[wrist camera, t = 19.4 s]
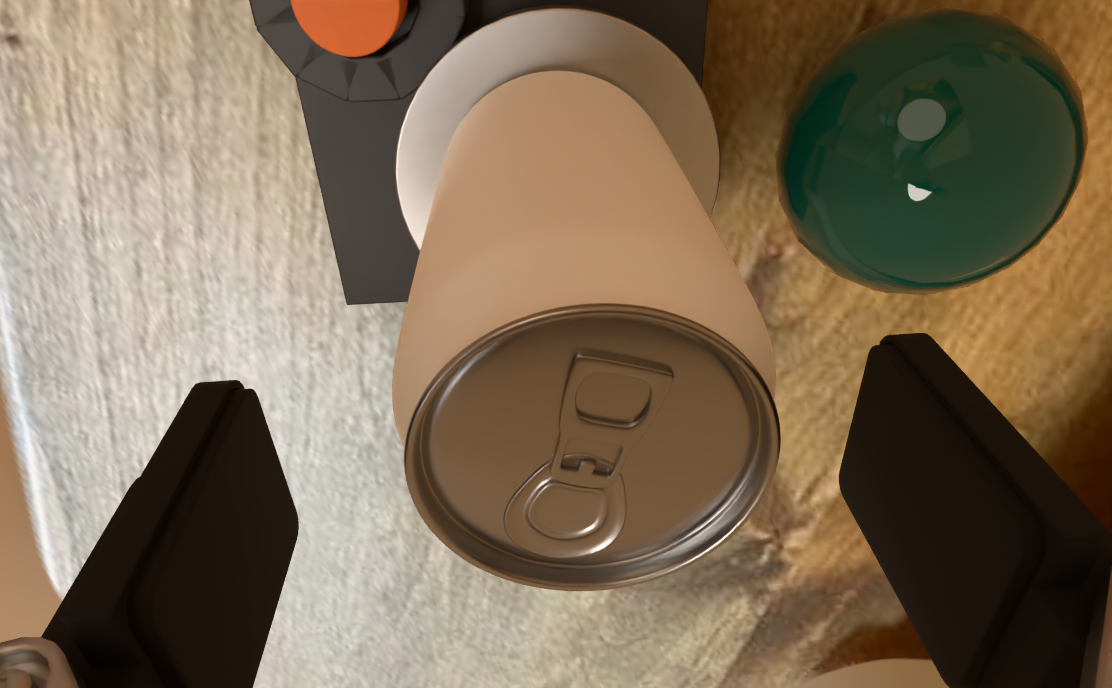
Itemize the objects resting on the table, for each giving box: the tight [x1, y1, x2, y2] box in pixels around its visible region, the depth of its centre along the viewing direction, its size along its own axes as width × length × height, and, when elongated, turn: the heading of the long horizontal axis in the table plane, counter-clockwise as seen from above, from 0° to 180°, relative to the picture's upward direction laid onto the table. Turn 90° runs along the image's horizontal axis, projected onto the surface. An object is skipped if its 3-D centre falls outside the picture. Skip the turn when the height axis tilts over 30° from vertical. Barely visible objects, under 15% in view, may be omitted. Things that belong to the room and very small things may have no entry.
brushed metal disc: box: [395, 5, 721, 251], centre depth 21 cm, size 9×9×1 cm
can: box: [392, 71, 781, 591], centre depth 16 cm, size 6×6×12 cm
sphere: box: [776, 7, 1088, 295], centre depth 21 cm, size 8×8×8 cm
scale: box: [249, 0, 708, 305], centre depth 22 cm, size 12×13×4 cm
